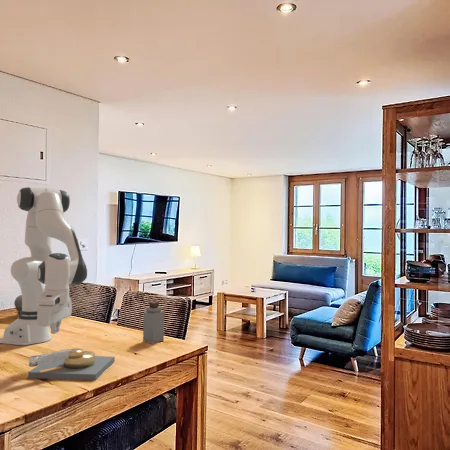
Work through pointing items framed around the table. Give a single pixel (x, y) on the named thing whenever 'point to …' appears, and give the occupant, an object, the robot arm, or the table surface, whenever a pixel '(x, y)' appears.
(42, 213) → the robot arm
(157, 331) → the perfume bottle
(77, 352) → the dial
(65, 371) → the stand plate
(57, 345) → the table surface
